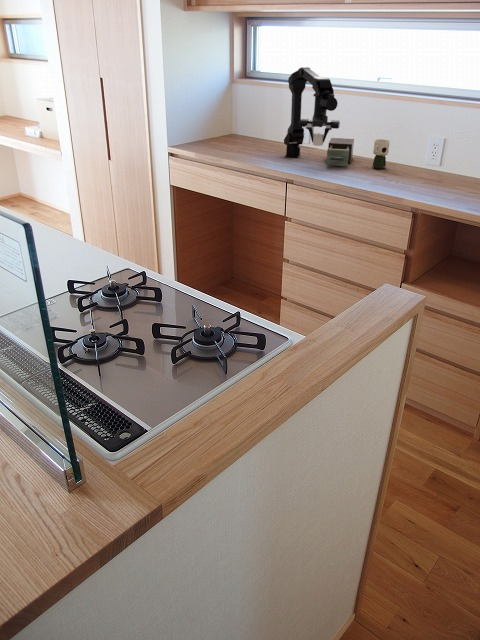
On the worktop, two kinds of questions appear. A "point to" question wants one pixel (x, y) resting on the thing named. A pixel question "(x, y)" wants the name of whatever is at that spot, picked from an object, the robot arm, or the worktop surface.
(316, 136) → the tissue roll
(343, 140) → the cabinet
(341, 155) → the drawer
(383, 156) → the toy figurine
